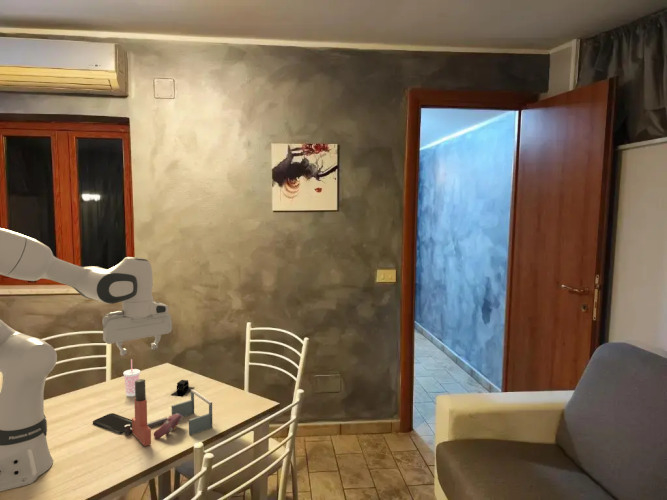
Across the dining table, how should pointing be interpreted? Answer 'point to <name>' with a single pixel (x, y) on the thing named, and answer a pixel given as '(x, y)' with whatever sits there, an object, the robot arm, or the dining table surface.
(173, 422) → the video game controller
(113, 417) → the phone
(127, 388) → the beverage cup
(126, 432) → the rail
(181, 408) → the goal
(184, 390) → the black piece
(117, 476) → the dining table surface
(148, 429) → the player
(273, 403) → the dining table surface
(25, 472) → the robot arm
